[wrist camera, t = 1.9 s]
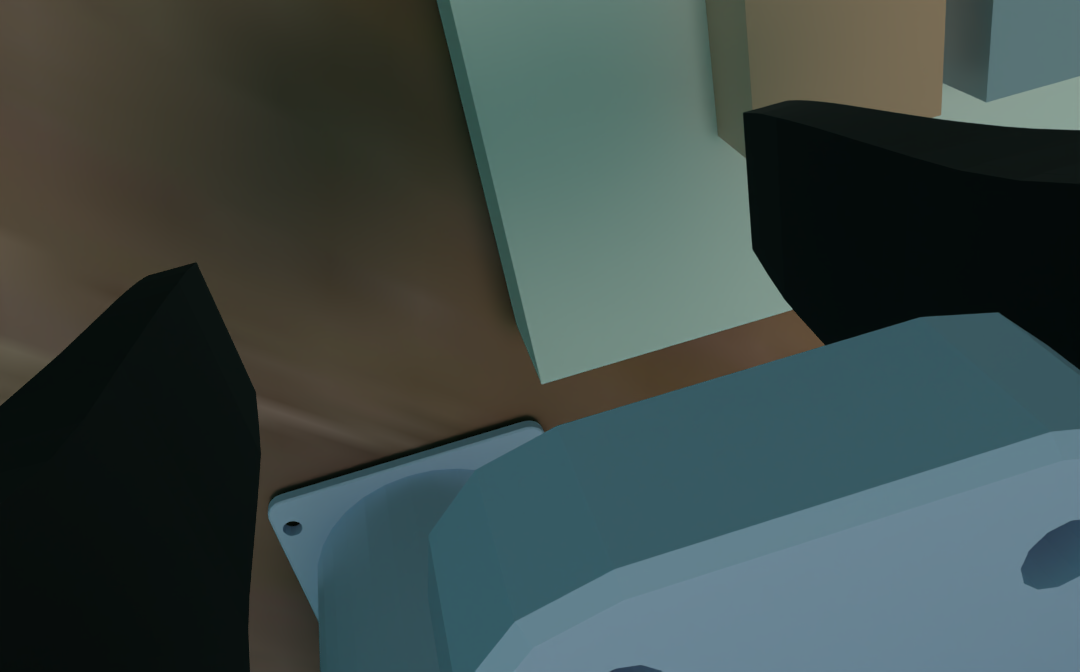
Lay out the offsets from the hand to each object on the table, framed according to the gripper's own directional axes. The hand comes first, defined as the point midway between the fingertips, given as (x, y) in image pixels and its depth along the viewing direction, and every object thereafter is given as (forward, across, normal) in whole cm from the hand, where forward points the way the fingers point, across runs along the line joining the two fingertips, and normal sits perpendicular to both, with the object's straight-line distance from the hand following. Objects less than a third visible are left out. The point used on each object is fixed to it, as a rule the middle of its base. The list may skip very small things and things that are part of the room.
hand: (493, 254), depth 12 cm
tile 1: (+7, -8, +1) cm, 11 cm away
